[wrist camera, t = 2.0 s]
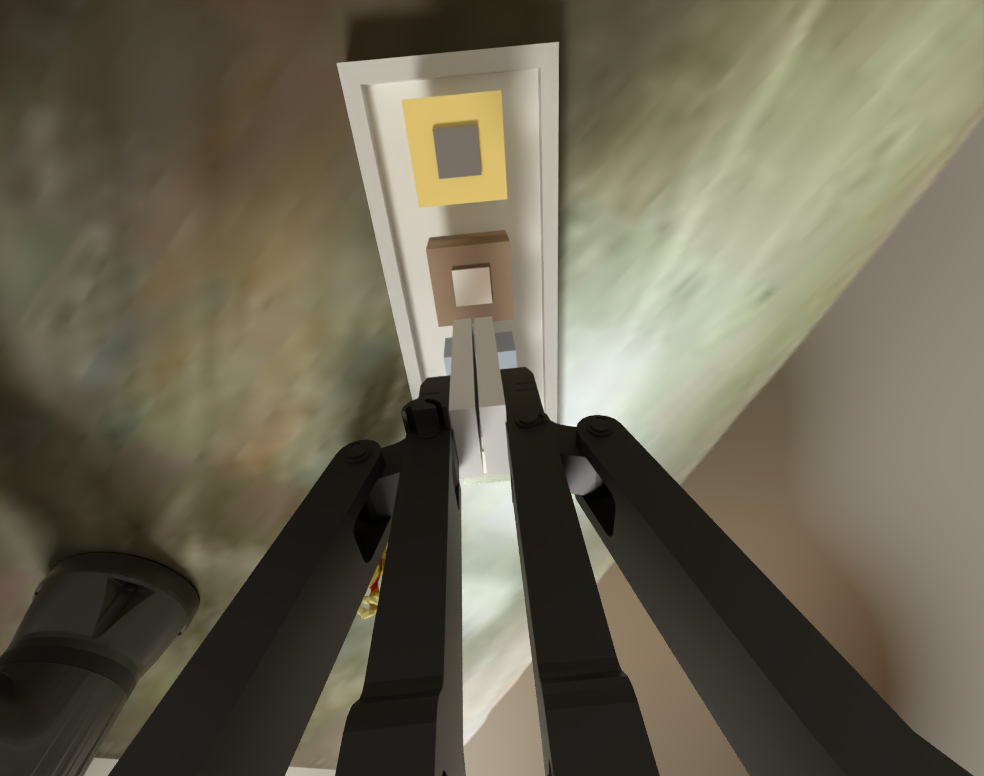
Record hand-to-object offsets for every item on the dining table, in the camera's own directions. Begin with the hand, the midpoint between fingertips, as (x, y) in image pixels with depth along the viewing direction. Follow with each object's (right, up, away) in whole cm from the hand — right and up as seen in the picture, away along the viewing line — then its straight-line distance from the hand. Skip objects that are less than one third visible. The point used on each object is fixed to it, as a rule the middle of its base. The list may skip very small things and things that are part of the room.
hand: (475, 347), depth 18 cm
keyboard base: (-1, +5, +14) cm, 15 cm away
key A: (-1, +12, +6) cm, 13 cm away
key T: (-1, +6, +9) cm, 11 cm away
